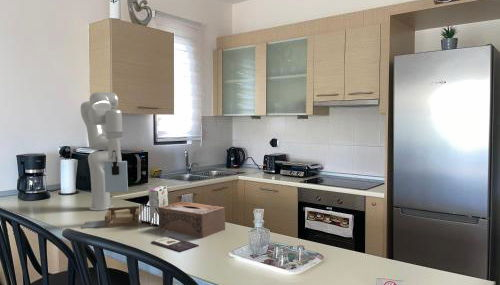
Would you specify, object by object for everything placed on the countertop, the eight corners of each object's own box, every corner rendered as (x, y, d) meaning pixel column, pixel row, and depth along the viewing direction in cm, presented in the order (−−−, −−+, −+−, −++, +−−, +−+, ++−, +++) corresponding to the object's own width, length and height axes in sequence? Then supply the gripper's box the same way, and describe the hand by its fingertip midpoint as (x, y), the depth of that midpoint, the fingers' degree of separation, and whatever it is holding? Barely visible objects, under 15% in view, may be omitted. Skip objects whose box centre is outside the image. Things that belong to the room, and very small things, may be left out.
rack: (109, 220, 201) (108, 207, 201) (139, 217, 204) (139, 205, 204) (105, 227, 187) (104, 214, 187) (137, 225, 190) (137, 212, 190)
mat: (85, 222, 197) (85, 221, 197) (108, 220, 199) (108, 220, 199) (81, 228, 187) (81, 227, 187) (105, 226, 189) (105, 225, 189)
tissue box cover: (159, 229, 183) (158, 207, 182) (182, 222, 194) (182, 201, 194) (202, 238, 167) (202, 214, 167) (225, 230, 179) (224, 207, 179)
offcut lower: (113, 224, 194) (112, 215, 194) (132, 222, 196) (132, 214, 196) (112, 226, 190) (112, 217, 190) (132, 224, 192) (132, 216, 192)
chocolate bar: (180, 250, 150) (151, 241, 162) (180, 253, 150) (151, 244, 162) (198, 244, 157) (169, 236, 169) (198, 247, 157) (169, 238, 169)
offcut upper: (114, 216, 193) (114, 210, 192) (128, 214, 196) (127, 209, 196) (116, 217, 190) (116, 212, 189) (130, 215, 193) (130, 210, 193)
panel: (106, 191, 197) (104, 162, 196) (127, 189, 200) (126, 161, 199) (105, 192, 194) (104, 162, 193) (127, 191, 196) (126, 161, 195)
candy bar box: (159, 219, 200) (158, 186, 198) (169, 219, 199) (168, 186, 197) (149, 225, 189) (148, 190, 188) (159, 226, 188) (158, 190, 187)
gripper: (107, 135, 202) (109, 172, 203) (103, 136, 186) (105, 177, 187) (123, 134, 204) (125, 171, 205) (121, 136, 188) (123, 176, 189)
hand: (116, 173), depth 196 cm, fingers closed on panel, 3 cm apart
